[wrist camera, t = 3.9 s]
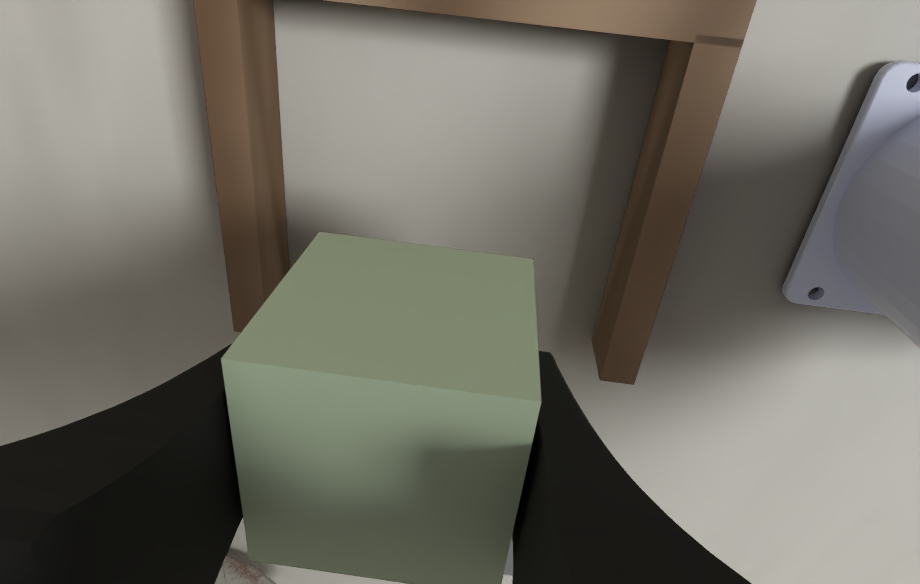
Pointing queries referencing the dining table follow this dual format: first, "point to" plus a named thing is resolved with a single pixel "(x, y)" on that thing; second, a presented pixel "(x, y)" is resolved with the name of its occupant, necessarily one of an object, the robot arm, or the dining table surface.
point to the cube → (387, 411)
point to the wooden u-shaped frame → (541, 3)
